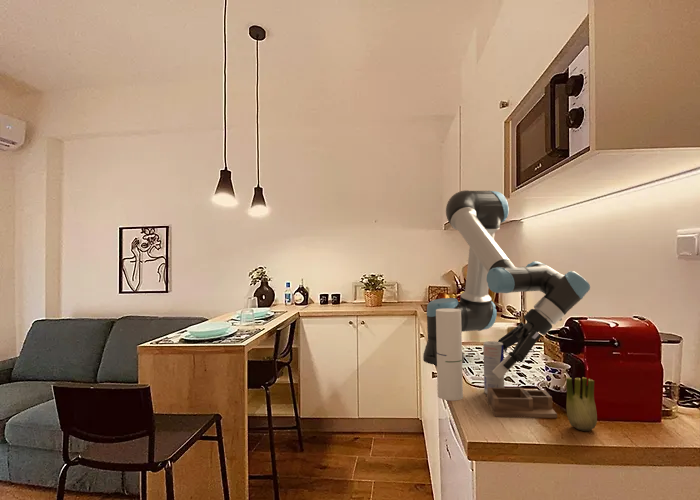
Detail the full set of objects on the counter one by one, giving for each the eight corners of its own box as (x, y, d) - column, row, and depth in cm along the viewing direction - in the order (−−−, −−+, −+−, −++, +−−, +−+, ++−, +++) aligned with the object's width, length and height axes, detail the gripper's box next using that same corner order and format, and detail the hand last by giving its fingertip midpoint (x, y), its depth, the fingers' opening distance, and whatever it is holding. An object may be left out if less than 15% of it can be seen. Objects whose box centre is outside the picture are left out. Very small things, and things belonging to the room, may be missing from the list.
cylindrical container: (444, 391, 136) (443, 307, 136) (467, 395, 132) (465, 309, 132) (433, 397, 131) (431, 310, 131) (456, 402, 126) (454, 312, 126)
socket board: (485, 399, 127) (485, 385, 127) (541, 400, 126) (540, 386, 126) (495, 416, 115) (494, 400, 115) (557, 417, 113) (556, 401, 113)
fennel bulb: (564, 427, 107) (563, 376, 107) (575, 422, 110) (574, 373, 110) (589, 435, 102) (588, 382, 102) (600, 429, 105) (599, 378, 105)
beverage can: (506, 397, 129) (504, 344, 129) (485, 396, 130) (484, 344, 130) (502, 391, 135) (501, 340, 135) (483, 390, 136) (482, 340, 136)
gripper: (569, 333, 118) (511, 391, 120) (539, 319, 143) (491, 366, 144) (547, 313, 119) (489, 370, 120) (521, 302, 143) (474, 350, 145)
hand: (490, 368), depth 132 cm, fingers open, 13 cm apart
